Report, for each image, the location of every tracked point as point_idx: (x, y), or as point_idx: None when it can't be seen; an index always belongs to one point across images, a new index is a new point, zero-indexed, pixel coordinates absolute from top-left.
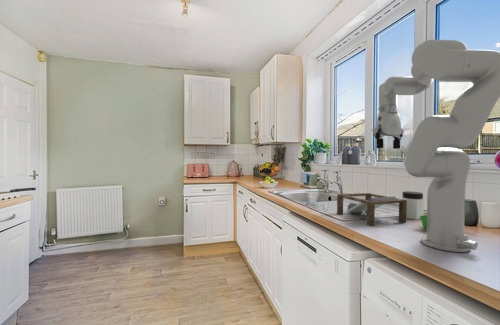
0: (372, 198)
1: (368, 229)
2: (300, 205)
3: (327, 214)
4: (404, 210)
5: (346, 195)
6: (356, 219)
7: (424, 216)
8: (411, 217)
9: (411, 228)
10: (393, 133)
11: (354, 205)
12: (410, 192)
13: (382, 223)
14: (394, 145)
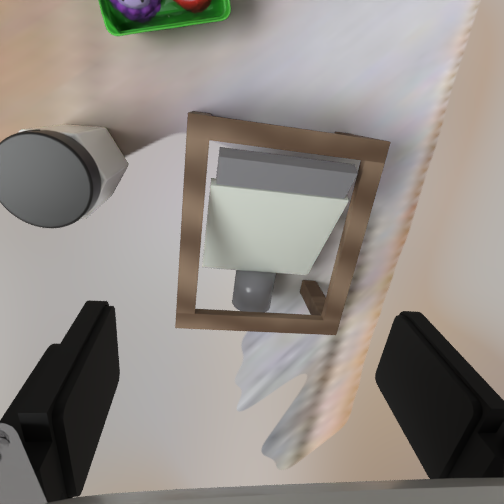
0: (350, 170)
1: (389, 107)
2: (320, 417)
3: None
4: (201, 113)
5: (307, 317)
6: None
7: (186, 23)
8: (114, 145)
9: (247, 48)
10: (351, 502)
11: (269, 286)
12: (53, 187)
13: None
14: (107, 393)
